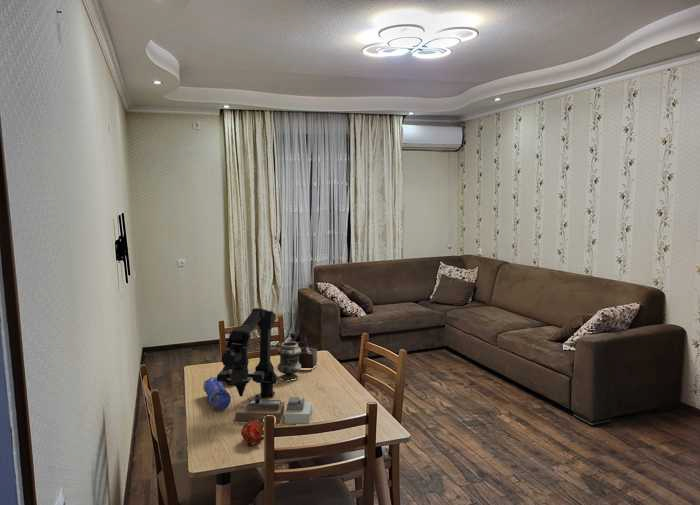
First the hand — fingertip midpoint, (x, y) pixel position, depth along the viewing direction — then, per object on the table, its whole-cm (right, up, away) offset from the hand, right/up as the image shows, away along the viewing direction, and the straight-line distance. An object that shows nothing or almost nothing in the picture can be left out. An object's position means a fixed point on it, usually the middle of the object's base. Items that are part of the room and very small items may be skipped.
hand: (241, 396), depth 212 cm
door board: (+8, -9, +1) cm, 12 cm away
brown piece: (+19, -3, +66) cm, 69 cm away
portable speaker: (-14, -4, +50) cm, 52 cm away
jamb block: (+24, -9, 0) cm, 26 cm away
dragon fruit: (+9, -11, -22) cm, 27 cm away
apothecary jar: (+14, -4, +48) cm, 50 cm away
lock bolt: (+10, -4, 0) cm, 11 cm away
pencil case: (-14, -8, +16) cm, 23 cm away
